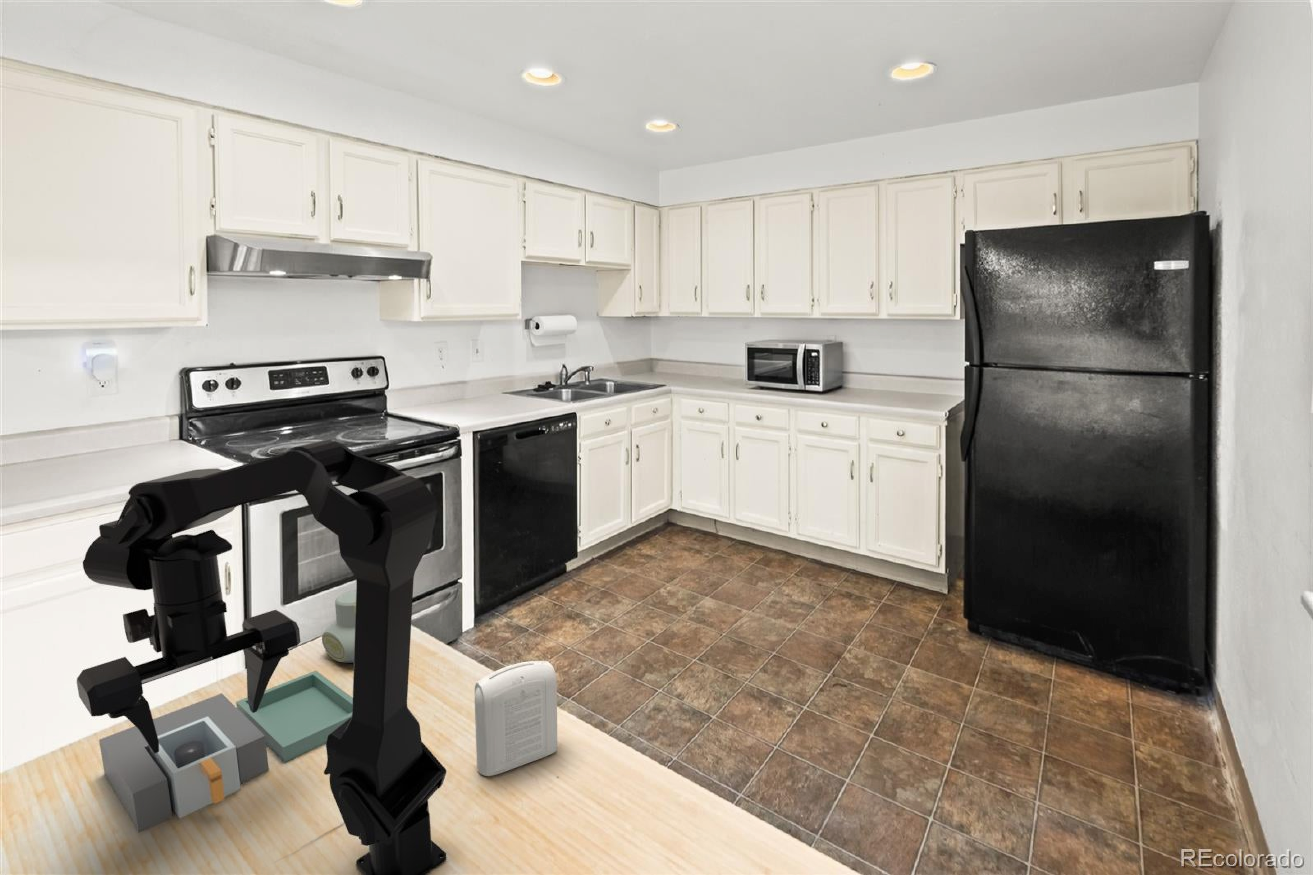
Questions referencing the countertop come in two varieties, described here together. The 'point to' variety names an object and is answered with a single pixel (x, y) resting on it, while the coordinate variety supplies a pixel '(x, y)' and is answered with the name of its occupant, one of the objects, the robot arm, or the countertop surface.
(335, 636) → the air freshener
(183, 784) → the toner caddy
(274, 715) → the tray
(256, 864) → the countertop surface
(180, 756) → the dark grey rounded piece
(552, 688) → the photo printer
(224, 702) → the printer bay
